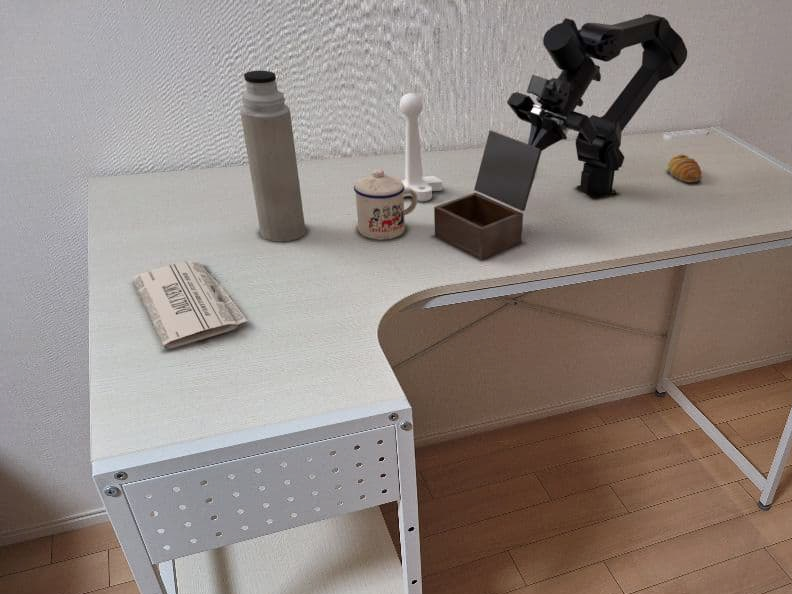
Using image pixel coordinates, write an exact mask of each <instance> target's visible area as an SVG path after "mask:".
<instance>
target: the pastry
mask: <svg viewBox="0 0 792 594" xmlns="http://www.w3.org/2000/svg"><path fill="white" fill-rule="evenodd" d="M667 168H668V172H669V173H670V175H672V176H673V177H675V179H678V181H681V182H685V183H696V182H700V180H701V179H702V170H701V167H700V165H699V164H698V162H697V161H696V160H695V159H694V158H691V157H689V156H688V155H685V154H678V155H676V156H673V158H671V159H670V160H669V162H668V164H667Z"/></svg>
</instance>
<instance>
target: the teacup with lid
mask: <svg viewBox="0 0 792 594" xmlns="http://www.w3.org/2000/svg"><path fill="white" fill-rule="evenodd" d="M353 191H354V192H355V202H356V215H357V216H356V217H357V227H358V232H359V233H360V235H362V236H363V237H365V238H368V239H371V240H380V241H383V240H392V239H395V238H397V237H400V236H401V235H402V234H404V232H405V231H406V230H405V229H406V226H405V225H406V223H405V216H407V215H409V214H411V213H413V211H414V210H415V209H416V207H417V204H418V201H417V200H418V198H417V194H416V192H415V191H414V190H412V189H410V188H404V185H403V183H402V181H401V179H399V178H398V177H395V176H393V175H388V174H386V173H385V171H384V170H383V169H381V168H375V169H373V170H372V173H371V174H369V175H365V176H362V177H360V178H358V179H357V180H355V182H354V185H353ZM405 193H412V196H411V198H412V199H411V203H410V204H409V206H408V207H407V208H405V201H404V200H405V199H404V198H405V197H403V194H405Z"/></svg>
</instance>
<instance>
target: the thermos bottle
mask: <svg viewBox="0 0 792 594" xmlns="http://www.w3.org/2000/svg"><path fill="white" fill-rule="evenodd" d="M243 78H244V80H245V88H246V91H244V92H243V93H242V95H241V96H242V97H241V98H242V100H241V103H242V106H241V107H240V109H239V113H240V118H241V119H240V120H241V126H242V130H243V137H244V142H245V148H246V154H247V160H248V166H249V172H250V178H251V184H252V190H253V191H252V192H253V197H254V203H255V207H256V208H255V209H256V213H257V219H258V225H259V232H260V236H261V237H262V238H263V239H266V240H268V241H272V242H289V241H295V240H297V239H300V238H301V237H303V236H304V235H305V233H306V223H305V215H304V211H303V210H304V209H303V200H302V193H301V184H300V178H299V170H298V169H299V168H298V161H297V155H296V146H295V139H294V131H293V122H292V115H291V109H290V107H289V105H287V104H286V103H285V102H286V98H285V96H284V93H283V92H281V91H280V90H278V84H277V81H276V79H277V75H276V73H275V72H273V71H269V70H250V71H246V72H245V73H244V74H243Z"/></svg>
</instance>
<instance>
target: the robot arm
mask: <svg viewBox="0 0 792 594" xmlns="http://www.w3.org/2000/svg"><path fill="white" fill-rule="evenodd" d="M542 44H543V47H544V48H545V50H546V51H547V53H548V54H549V56H550V57H551V59H552V61H553V63H554V64H555V66H556V68H558V69H559V70H560V71H561V72H560V73H559V75H558V77H557V78H555V77H552V78H550V79H547V78H546V77H541V76H539V75H535V74H532V75H531V77H530V81H529V83H528V86H527V89H526V93H527V94H532V95H534V96H536V98H535V99H536V101H537V103H538V104H540V105H537V104H536V103H535V101H534V100H533V99H532V97H531V96H529V95H527V94H524V93H521V92H519V91H516V92H512V93H511V95H510V96H509V98H508V99H507V101H506V103H507V105H508V106H509V108H510V109H511V110H512V111H513V113H514V114H515V115H516V117H517V118H518V119H520V120H521V121H522V122H526V123H529V124H530V131H529V136H528V142H527V144H529V145H531V146H534V147H537V148H539V149H542V152H543V151H544V150H546V149H547V148H549V147H551V146H553V145H554V144H557V143H559V142H560V141H562V140H564V141H566V140H567V139H568V136H567V134H568V133H569V131H570V130H571V131H574V132H577V133H578V134H577V136H576V138H575V149H576V157H577V161H579V162H583V167H582V171H581V174H580V184H579V185H576V189H577V190H578V191H580V192H582V193H583V194H585V195H587V196H588V197H590V198H592V199H599V198H604V197H609V196H614V195H617V190H615V189H613V187H614V180H615V172H617V171H619V170H620V168H622V167H623V164H624V162H625V161H624V160H625V155H624V154H623V152H622V150H621V149H620V147H621V145H622V133H623V131H624V129H625V128H626V127H627V126H628V124H629V122H630V121H631V120H632V118H633V117H634V116H635V115H636V113H637V112H638V111H639V110H640V109H641V107H642V105H643V104H644V103H645V101H646V100H647V99H648V97H649V96H650V95H651V93H652V92H653V90H655V88H656V87H657V85H658V84H659V83H660V82H662V81H664V80H666V79H669V78H671V77H673V76H674V75H675V74H676V73H677V72H678V71H679V70H680V69H681V68H682V67H683V65H684V64H685V63H686V61H687V58H688V49H687V47H686V44H685V42H684V40H683V37H681V35H680V34H679V33H678V32H677V31H675V29H674V28H672V26H671V25H670V22H669V20H668V19H666V18H665V17H663V16H659V15H656V14H653V13H652V14H651V13H648V14H644V15H642V16H641V17H636V18H632V19H629V20H625V21H621V22H617V23H613V24H606V23H600V22H586V23H584V24H583V25H582V26H581V27H580V29H578V27H577V24H576V21H575V20H574V19H571V18H567V17H565V18H564V19H563V20H562V22H560V23H557V24H555V25H553V26H552V27H551V28H549V29H547V30H546V32H545V33H544V35H543V38H542ZM636 45H641V47H642V49H643V51H642V54H641V65H640V67H639V68H638V69H637V71H636V73H634V75H633V76H632V78H631V79H630V80H629V82H628V83H627V84H626V86H625V87H624V88H623V90H621V92H620V94H619V95H618V96H617V98H616V99H615V100H614V101H613V103H612V104H611V105H610V106H609V108H608V109H607V111H606V112H605V113H604V114H603V115H602V116H597V115H596V114H595V115H594V114H592V115H590V116H588V115H586V114H583V113H580V112H577V111H575V109H576V108H577V107H580V108H582V106H583V105H584V101H583V99H582V98H583V96H584V95H585V93H586V91H587V90H588V88H589V86H590V85H591V84H592V82H593V81H595V82H599V83H600V82H601V79H602V75H601V70H600V69H601V66H600V65H597V64H595V62H594V60H598V61H601V62H605V63H606V62H607V63H608V62H611V61H612V60H614V59H616V58H617V57H618V56H620V55H621V53H622V50H624V49H625V48H629V47H632V46H636Z"/></svg>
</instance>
